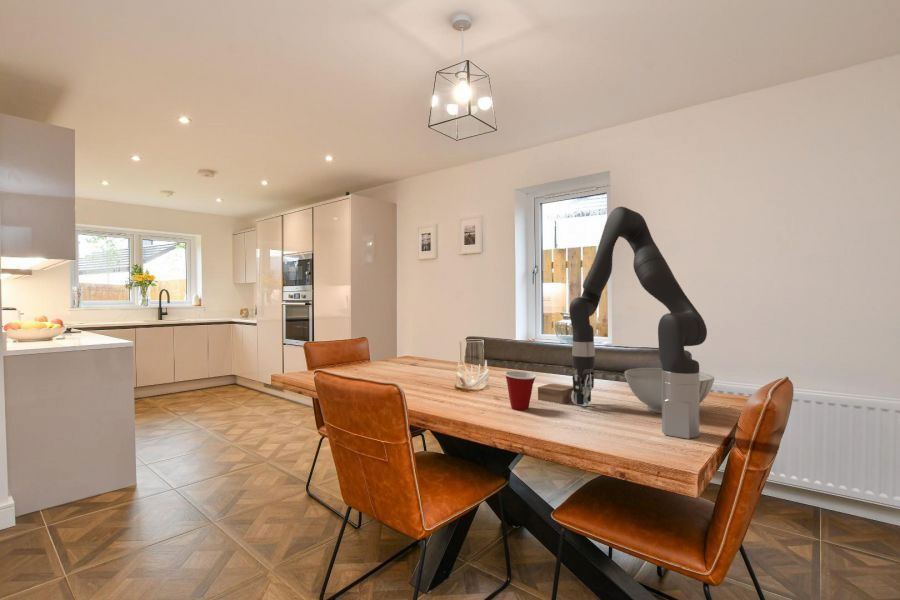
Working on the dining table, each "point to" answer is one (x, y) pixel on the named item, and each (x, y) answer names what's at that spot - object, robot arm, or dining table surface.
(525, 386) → the plastic cup
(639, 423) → the dining table surface
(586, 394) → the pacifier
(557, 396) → the walnut block
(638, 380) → the decorative bowl
